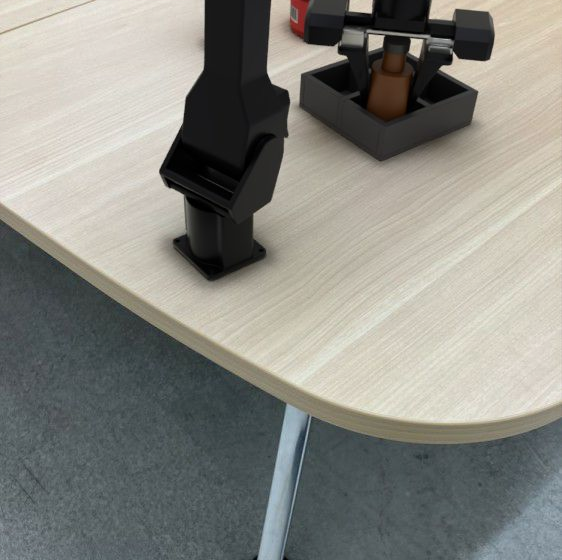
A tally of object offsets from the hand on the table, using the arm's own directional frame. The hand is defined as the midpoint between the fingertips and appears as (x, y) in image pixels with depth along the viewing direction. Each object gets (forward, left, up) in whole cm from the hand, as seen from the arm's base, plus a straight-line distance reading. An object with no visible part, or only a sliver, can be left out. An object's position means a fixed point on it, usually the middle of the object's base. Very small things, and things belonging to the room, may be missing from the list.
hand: (386, 106), depth 85 cm
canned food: (+25, -11, -4) cm, 28 cm away
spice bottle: (0, 0, -3) cm, 3 cm away
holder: (+3, -3, -4) cm, 6 cm away
